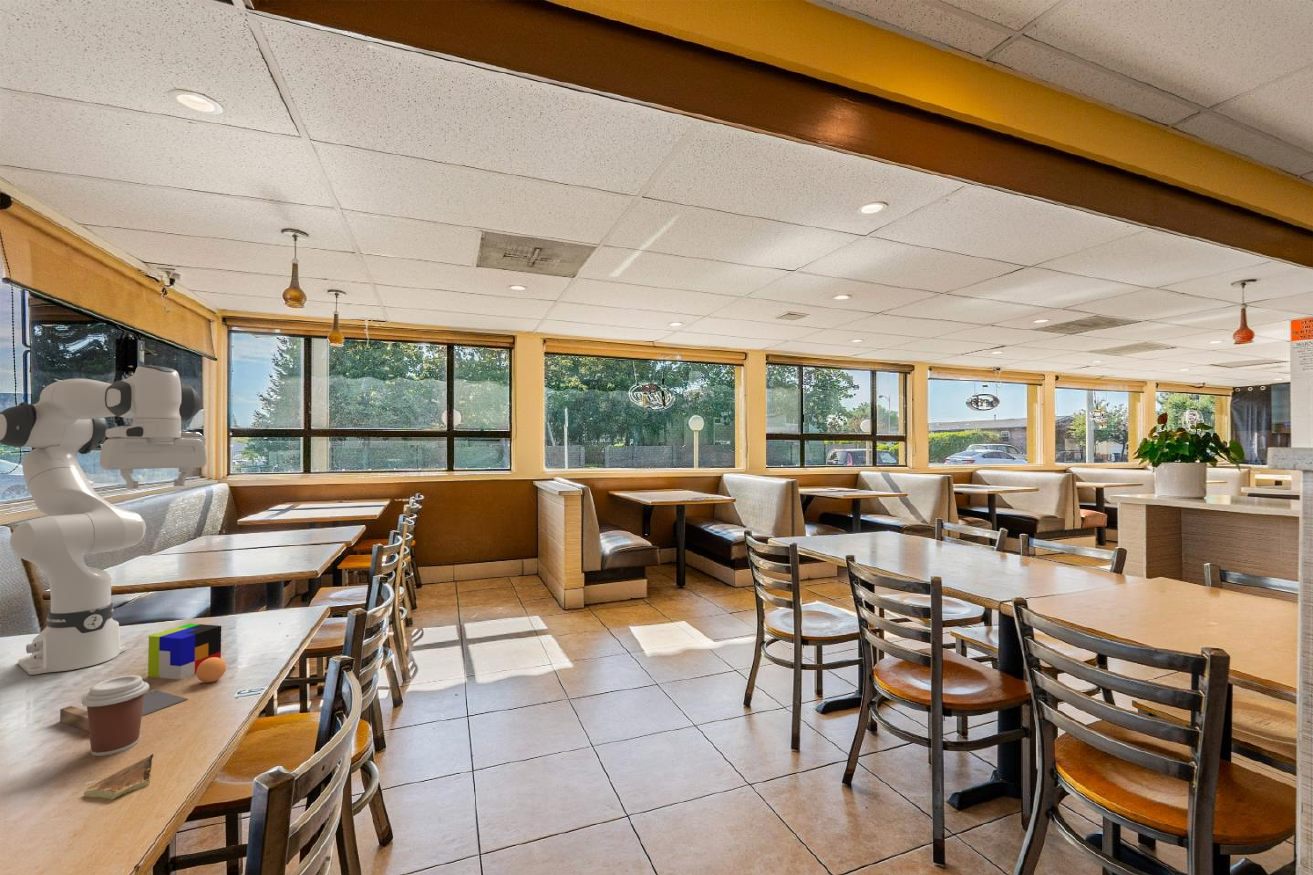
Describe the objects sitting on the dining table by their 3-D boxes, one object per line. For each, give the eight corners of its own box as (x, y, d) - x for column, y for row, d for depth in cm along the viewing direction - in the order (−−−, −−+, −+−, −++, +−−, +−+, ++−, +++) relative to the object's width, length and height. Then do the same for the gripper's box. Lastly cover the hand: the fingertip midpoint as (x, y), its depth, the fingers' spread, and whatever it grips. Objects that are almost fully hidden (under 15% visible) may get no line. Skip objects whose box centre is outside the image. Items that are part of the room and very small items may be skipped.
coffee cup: (149, 729, 110) (150, 668, 110) (147, 747, 103) (148, 683, 104) (83, 745, 104) (84, 681, 104) (77, 766, 97) (78, 697, 98)
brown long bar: (60, 721, 113) (60, 709, 113) (70, 717, 115) (70, 705, 115) (97, 734, 108) (97, 721, 108) (108, 730, 110) (108, 717, 110)
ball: (190, 684, 131) (190, 660, 131) (216, 675, 137) (217, 652, 137) (205, 687, 129) (205, 663, 129) (231, 678, 134) (231, 655, 135)
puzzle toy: (180, 680, 134) (181, 638, 134) (148, 676, 136) (148, 635, 136) (220, 664, 144) (221, 625, 144) (189, 661, 146) (190, 623, 146)
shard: (152, 761, 100) (152, 751, 100) (188, 765, 98) (188, 755, 98) (81, 799, 89) (81, 788, 89) (120, 804, 88) (121, 792, 88)
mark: (87, 713, 117) (87, 712, 117) (156, 690, 128) (156, 689, 128) (119, 724, 112) (119, 723, 112) (187, 699, 123) (187, 698, 123)
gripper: (197, 432, 146) (197, 484, 146) (96, 429, 127) (95, 489, 127) (212, 432, 144) (212, 485, 144) (111, 429, 125) (110, 490, 125)
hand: (156, 487), depth 135 cm, fingers open, 8 cm apart
